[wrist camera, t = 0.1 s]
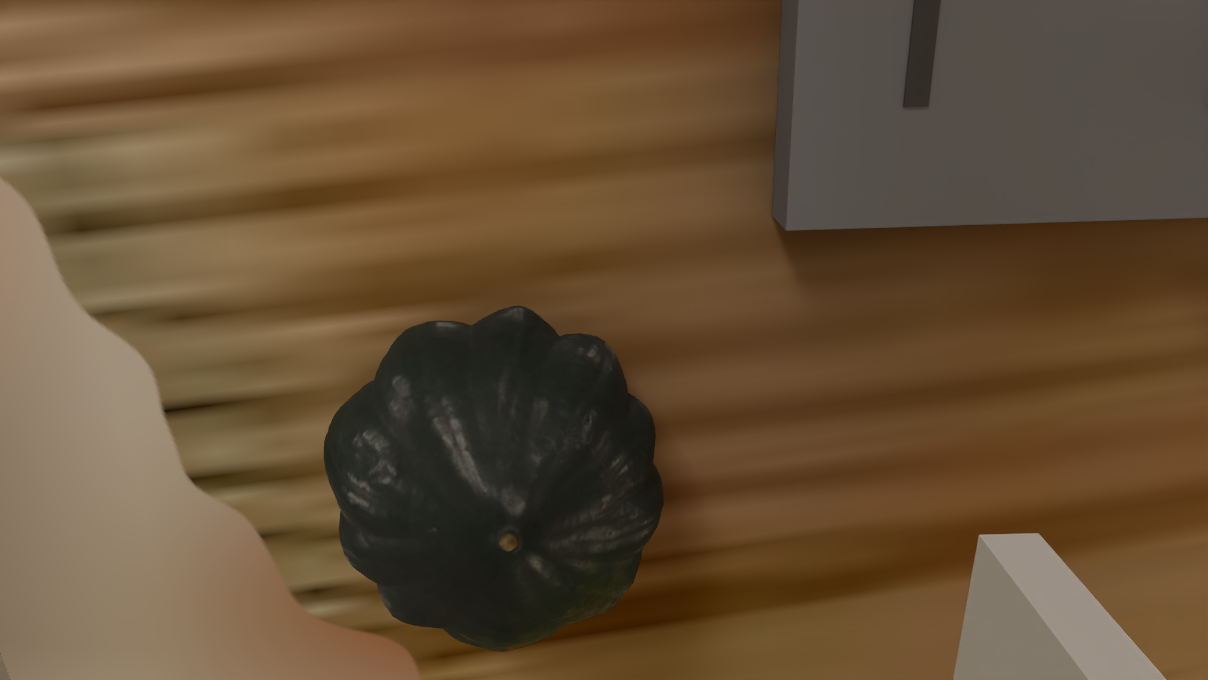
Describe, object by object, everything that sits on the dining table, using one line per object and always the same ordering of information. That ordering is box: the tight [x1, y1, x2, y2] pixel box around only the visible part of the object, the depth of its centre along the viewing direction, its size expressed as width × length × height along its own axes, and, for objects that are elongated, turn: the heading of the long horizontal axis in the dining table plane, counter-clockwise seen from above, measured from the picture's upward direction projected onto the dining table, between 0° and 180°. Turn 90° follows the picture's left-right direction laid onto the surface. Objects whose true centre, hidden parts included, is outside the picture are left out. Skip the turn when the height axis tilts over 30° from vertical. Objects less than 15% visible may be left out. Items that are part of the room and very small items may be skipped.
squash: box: [324, 306, 663, 652], centre depth 35 cm, size 14×15×15 cm
